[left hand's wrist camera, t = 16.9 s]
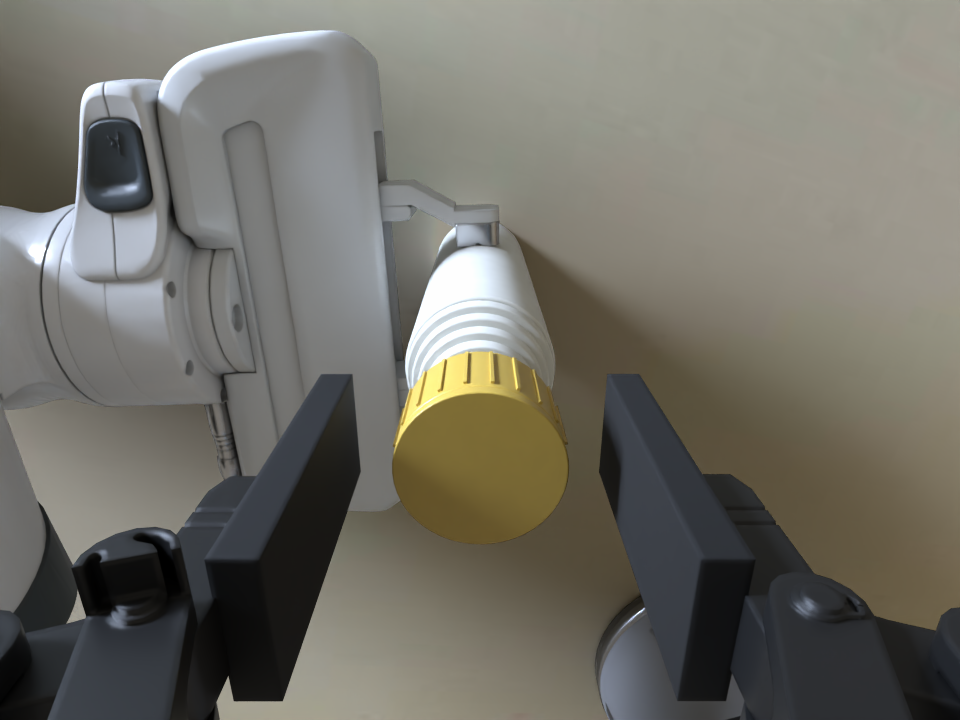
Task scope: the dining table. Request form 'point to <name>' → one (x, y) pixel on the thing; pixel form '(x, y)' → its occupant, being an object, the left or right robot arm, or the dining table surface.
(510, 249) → the bottle
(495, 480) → the cap
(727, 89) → the dining table surface
